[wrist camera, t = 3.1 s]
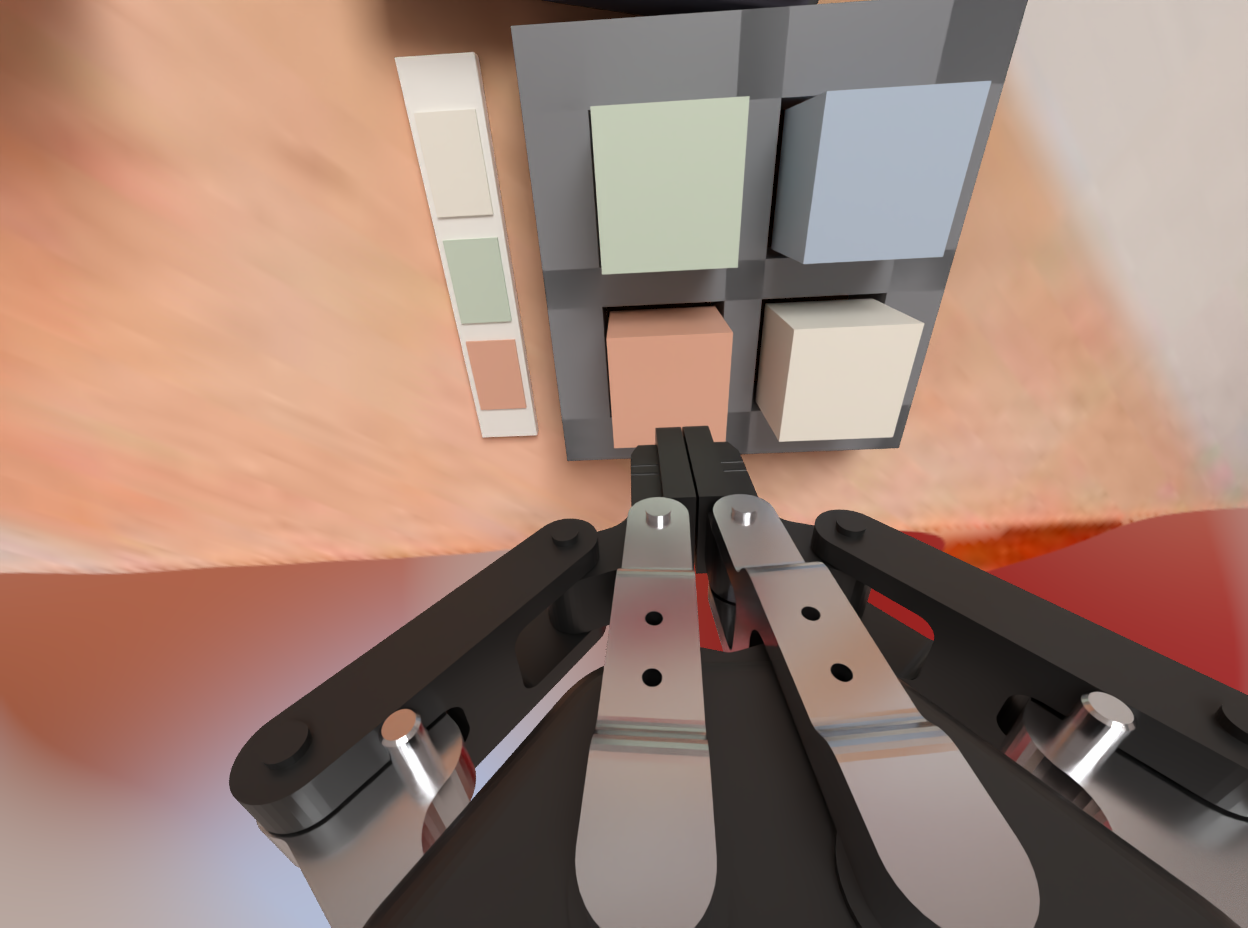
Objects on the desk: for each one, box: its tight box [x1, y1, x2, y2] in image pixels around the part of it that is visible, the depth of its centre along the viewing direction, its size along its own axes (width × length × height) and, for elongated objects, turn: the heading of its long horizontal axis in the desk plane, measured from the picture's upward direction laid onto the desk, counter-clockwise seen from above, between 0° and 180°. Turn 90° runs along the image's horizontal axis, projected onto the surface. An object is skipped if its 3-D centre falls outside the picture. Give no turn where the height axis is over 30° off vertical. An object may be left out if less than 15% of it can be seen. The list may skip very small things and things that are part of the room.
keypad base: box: [511, 0, 1028, 461], centre depth 20 cm, size 16×16×4 cm
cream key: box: [756, 298, 924, 442], centre depth 19 cm, size 4×4×4 cm
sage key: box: [590, 96, 750, 275], centre depth 16 cm, size 4×4×4 cm
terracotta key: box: [606, 306, 733, 448], centre depth 19 cm, size 4×4×4 cm
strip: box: [394, 52, 539, 437], centre depth 22 cm, size 3×16×1 cm, turn 3°
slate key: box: [771, 81, 991, 264], centre depth 16 cm, size 4×4×4 cm
